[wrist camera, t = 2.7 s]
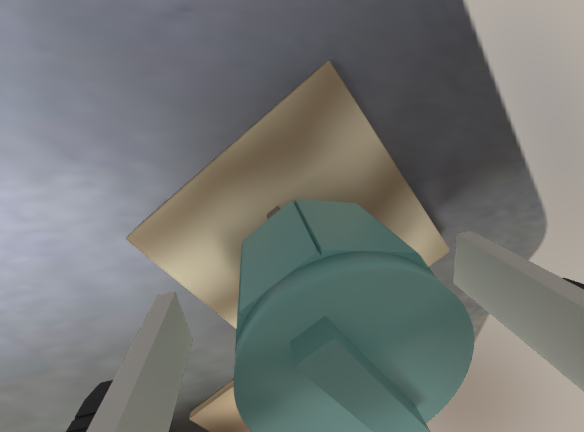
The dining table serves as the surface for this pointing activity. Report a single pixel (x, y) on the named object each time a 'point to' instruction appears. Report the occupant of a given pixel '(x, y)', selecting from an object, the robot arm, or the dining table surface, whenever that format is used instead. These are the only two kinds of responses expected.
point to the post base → (281, 190)
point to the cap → (343, 326)
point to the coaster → (219, 412)
